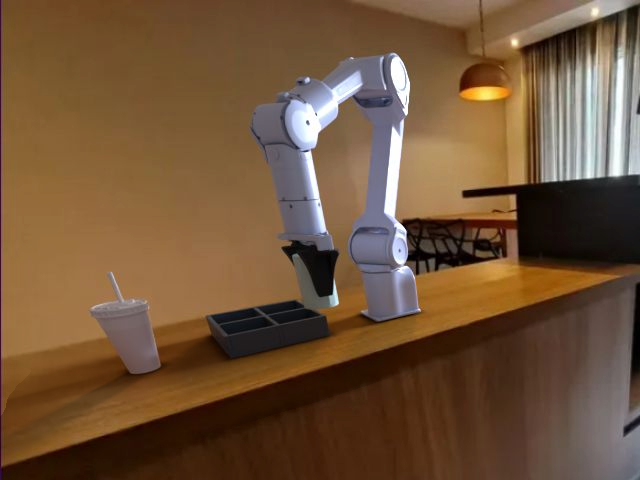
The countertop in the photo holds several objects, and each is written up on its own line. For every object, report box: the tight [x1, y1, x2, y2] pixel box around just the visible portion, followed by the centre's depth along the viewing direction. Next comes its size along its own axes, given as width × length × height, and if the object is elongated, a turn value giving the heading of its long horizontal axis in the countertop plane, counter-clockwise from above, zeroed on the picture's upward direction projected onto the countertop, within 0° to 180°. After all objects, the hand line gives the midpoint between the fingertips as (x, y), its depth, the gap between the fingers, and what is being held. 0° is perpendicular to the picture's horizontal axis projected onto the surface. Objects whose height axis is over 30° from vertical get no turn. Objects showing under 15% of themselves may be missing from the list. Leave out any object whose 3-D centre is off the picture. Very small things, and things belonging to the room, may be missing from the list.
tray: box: [205, 299, 331, 360], centre depth 76 cm, size 15×15×4 cm
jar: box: [292, 254, 340, 311], centre depth 69 cm, size 5×5×8 cm
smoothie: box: [88, 271, 162, 375], centre depth 62 cm, size 6×6×14 cm
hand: (318, 292), depth 70 cm, fingers closed on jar, 5 cm apart
